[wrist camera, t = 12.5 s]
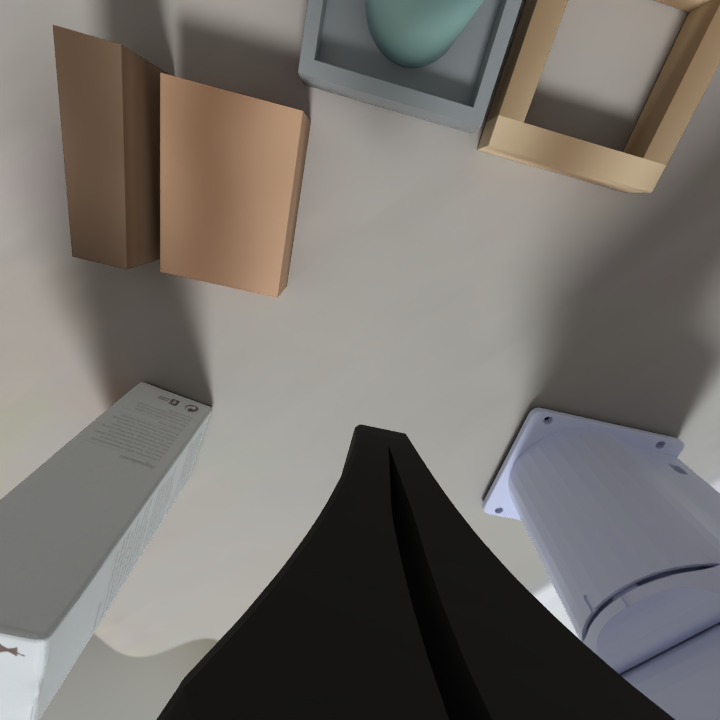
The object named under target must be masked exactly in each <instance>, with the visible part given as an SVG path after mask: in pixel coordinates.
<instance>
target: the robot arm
mask: <svg viewBox="0 0 720 720" xmlns="http://www.w3.org/2000/svg"><path fill="white" fill-rule="evenodd" d="M546 417H549V418H548V419H547V420H544V419H545V418H546ZM683 449H684V443H683V442H682V441H681V440H679V439H678V438H675V437H670V436H666V435H661V434H657V433H652V432H648V431H643V430H639V429H634V428H630V427H625V426H621V425H616V424H612V423H607V422H602V421H598V420H593V419H589V418H584V417H580V416H575V415H571V414H566V413H562V412H557V411H553V410H548V409H544V408H535V409H533V410H531V411H530V413H529V414H528V416H527V418H526V420H525V422H524V424H523V426H522V428H521V430H520V432H519V434H518V436H517V438H516V440H515V441H514V443H513V445H512V447H511V449H510V451H509V453H508V455H507V457H506V459H505V461H504V463H503V465H502V467H501V469H500V471H499V472H498V474H497V476H496V478H495V480H494V482H493V484H492V486H491V488H490V490H489V492H488V494H487V496H486V498H485V500H484V502H483V504H482V507H483V510H484V512H485V513H487V514H491V515H496V516H502V517H507V518H512V519H518V520H521V521H522V523H523V525H524V527H525V529H526V531H527V533H528V535H529V537H530V539H531V541H532V543H533V545H534V547H535V549H536V551H537V553H538V555H539V557H540V559H541V561H542V563H543V566H544V568H545V570H546V572H547V574H548V576H549V578H550V580H551V582H552V584H553V586H554V588H555V590H556V592H557V594H558V596H559V598H560V600H561V602H562V604H563V606H564V608H565V610H566V612H567V614H568V617H569V619H570V621H571V623H572V625H573V627H574V629H575V631H576V633H577V635H578V637H579V639H580V640H579V639H578V638H577V637H576V636H575V635H574V634H573V633H572V632H571V631H570V630H569V629H567V628H566V627H565V626H564V625H563V624H562V623H561V622H560V621H559V620H558V619H557V618H556V617H555V616H553V615H552V614H551V613H550V612H549V611H548V610H547V609H546V608H545V607H544V606H543V605H542V604H541V603H540V602H539V601H538V600H537V599H536V598H535V597H534V596H533V595H532V594H531V593H530V592H529V591H528V590H527V589H526V588H525V587H524V586H523V585H522V584H521V583H520V582H519V581H518V580H517V579H516V578H515V577H514V576H513V575H512V574H511V573H510V572H509V570H508V569H507V568H506V567H505V566H504V565H503V564H502V563H501V562H500V560H499V559H498V558H497V557H496V556H495V555H494V554H493V553H492V552H491V550H490V549H489V548H488V547H487V546H486V545H485V544H484V543H483V541H482V540H481V539H480V538H479V537H478V535H477V534H476V533H475V532H474V531H473V529H472V528H471V527H470V526H469V524H468V523H467V522H466V520H465V519H464V518H463V517H462V515H461V514H460V513H459V512H458V510H457V509H456V508H455V506H454V505H453V504H452V502H451V501H450V500H449V498H448V497H447V495H446V494H445V493H444V491H443V490H442V488H441V487H440V486H439V484H438V483H437V481H436V480H435V478H434V477H433V475H432V474H431V472H430V471H429V469H428V468H427V466H426V465H425V463H424V462H423V460H422V459H421V457H420V456H419V454H418V453H417V451H416V449H415V448H414V446H413V445H412V443H411V442H410V440H409V438H408V437H407V435H406V434H404V433H399V432H395V431H390V430H385V429H380V428H375V427H370V426H365V425H359V426H357V427H355V430H354V433H353V437H352V440H351V444H350V447H349V451H348V454H347V458H346V462H345V465H344V469H343V472H342V476H341V478H340V480H339V482H338V483H337V485H336V487H335V489H334V491H333V493H332V495H331V496H330V498H329V500H328V502H327V504H326V505H325V507H324V509H323V510H322V512H321V513H320V515H319V517H318V518H317V520H316V521H315V523H314V524H313V526H312V527H311V529H310V530H309V532H308V533H307V535H306V536H305V538H304V539H303V540H302V542H301V543H300V545H299V546H298V547H297V549H296V550H295V551H294V553H293V554H292V556H291V557H290V558H289V560H288V561H287V562H286V564H285V565H284V566H283V567H282V569H281V570H280V571H279V573H278V574H277V575H276V576H275V577H274V579H273V580H272V581H271V582H270V583H269V585H268V586H267V587H266V588H265V589H264V591H263V592H262V593H261V594H260V595H259V597H258V598H257V599H256V600H255V601H254V603H253V604H252V605H251V606H250V607H249V609H248V610H247V611H246V612H245V613H244V614H243V615H242V617H241V618H240V619H239V620H238V621H237V622H236V623H235V624H234V626H233V627H232V628H231V629H230V630H229V631H228V632H227V633H226V634H225V635H224V636H223V637H222V638H221V639H220V640H219V641H218V643H217V644H216V645H215V646H214V647H213V648H212V649H211V650H210V651H209V652H208V653H207V654H206V655H205V656H204V657H203V659H202V660H201V661H200V662H199V663H198V664H197V665H196V666H195V667H194V668H193V669H192V670H191V671H190V672H189V673H188V675H187V676H186V677H185V678H184V679H183V680H182V682H181V684H180V686H179V687H178V689H177V690H176V692H175V693H174V694H173V696H172V698H171V699H170V700H169V702H168V703H167V705H166V706H165V708H164V709H163V711H162V712H161V714H160V715H159V717H158V718H157V720H720V493H719V492H717V491H716V490H715V489H714V488H713V487H711V486H710V485H709V484H708V483H707V482H705V481H704V480H703V479H702V478H701V477H699V476H698V475H697V474H696V473H695V472H693V471H692V470H691V469H690V468H689V467H687V466H686V465H685V464H684V463H683V462H681V461H680V460H679V459H678V458H677V457H678V456H679V454H680V453H681V452H682V450H683ZM498 507H500V508H498ZM496 508H497V509H496Z"/></svg>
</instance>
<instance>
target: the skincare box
mask: <svg viewBox="0 0 720 720" xmlns="http://www.w3.org/2000/svg"><path fill="white" fill-rule="evenodd" d="M211 411H212V408H211V407H209V406H207V405H204V404H201V403H199V402H196V401H193V400H190V399H187V398H184V397H182V396H179V395H177V394H174V393H171V392H168V391H165V390H163V389H160V388H158V387H155V386H152V385H150V384H147V383H144V382H140V383H138V384H137V385H136V386H135V387H134V388H132V389H131V390H130V391H129V392H128V393H126V394H125V395H124V396H123V397H122V398H120V399H119V400H118V401H117V402H116V403H115V404H113V405H112V406H111V407H110V408H109V409H108V410H106V411H105V412H104V413H103V414H102V415H100V416H99V417H98V418H97V419H96V420H95V421H93V422H92V423H91V424H90V425H89V426H88V427H86V428H85V429H84V430H83V431H81V432H80V433H79V434H78V435H77V436H76V437H74V438H73V439H72V440H71V441H69V442H68V443H67V444H66V445H65V446H64V447H62V448H61V449H60V450H59V451H58V452H56V453H55V454H54V455H53V456H52V457H51V458H50V459H48V460H47V461H46V462H45V463H44V464H42V465H41V466H40V467H39V468H38V469H37V470H35V471H34V472H33V473H32V474H31V475H29V476H28V477H27V478H26V479H25V480H24V481H22V482H21V483H20V484H19V485H18V486H16V487H15V488H14V489H13V490H12V491H11V492H9V493H8V494H7V495H6V496H5V497H4V498H2V499H1V500H0V720H40V718H41V716H42V715H43V713H44V711H45V710H46V708H47V707H48V705H49V703H50V701H51V700H52V698H53V697H54V695H55V694H56V692H57V690H58V689H59V687H60V686H61V684H62V683H63V681H64V679H65V678H66V676H67V674H68V673H69V671H70V670H71V668H72V666H73V665H74V663H75V661H76V660H77V658H78V657H79V655H80V653H81V652H82V650H83V649H84V647H85V646H86V644H87V642H88V641H89V639H90V638H91V636H92V635H93V633H94V631H95V630H96V628H97V627H98V625H99V623H100V622H101V620H102V619H103V617H104V615H105V614H106V612H107V610H108V609H109V607H110V606H111V604H112V602H113V601H114V599H115V597H116V596H117V594H118V593H119V591H120V589H121V588H122V586H123V585H124V583H125V581H126V580H127V578H128V576H129V575H130V573H131V572H132V570H133V568H134V567H135V565H136V564H137V562H138V560H139V559H140V557H141V555H142V554H143V552H144V550H145V549H146V547H147V546H148V544H149V542H150V541H151V539H152V538H153V536H154V534H155V533H156V531H157V529H158V528H159V526H160V525H161V523H162V521H163V520H164V518H165V517H166V515H167V513H168V512H169V510H170V509H171V507H172V505H173V504H174V502H175V500H176V499H177V497H178V496H179V494H180V493H181V491H182V489H183V488H184V486H185V484H186V483H187V481H188V480H189V477H190V474H191V471H192V468H193V465H194V462H195V459H196V456H197V453H198V450H199V447H200V444H201V441H202V438H203V435H204V432H205V429H206V426H207V423H208V420H209V417H210V414H211Z"/></svg>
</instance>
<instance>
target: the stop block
mask: <svg viewBox="0 0 720 720" xmlns="http://www.w3.org/2000/svg"><path fill="white" fill-rule="evenodd" d="M53 34H54V45H55V57H56V69H57V80H58V92H59V104H60V116H61V127H62V139H63V151H64V162H65V174H66V186H67V198H68V209H69V221H70V233H71V244H72V256H73V257H77V258H81V259H85V260H90V261H94V262H98V263H103V264H107V265H111V266H115V267H120V268H124V269H129V268H132V267H135V266H138V265H142V264H145V263H148V262H151V261H154V260H157V259H160V73H164V74H167V73H166V72H164V71H163V70H161V69H159V68H158V67H156V66H155V65H153V64H151V63H150V62H148V61H147V60H145V59H143V58H142V57H140V56H139V55H137V54H135V53H134V52H132V51H131V50H129V49H127V48H126V47H124V46H123V45H121V44H117V43H114V42H110V41H107V40H104V39H100V38H97V37H93V36H90V35H86V34H83V33H79V32H76V31H72V30H69V29H65V28H62V27H59V26H55V25H53ZM168 75H169V74H168Z"/></svg>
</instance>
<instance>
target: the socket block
mask: <svg viewBox="0 0 720 720" xmlns="http://www.w3.org/2000/svg"><path fill="white" fill-rule="evenodd" d="M655 1H658V2H661V3H663V4H666V5H669V6H672V7H675V8H678V9H681V10H684V11H687V12H689V14H688V16H687V18H686V20H685V22H684V24H683V26H682V29H681V31H680V33H679V35H678V37H677V39H676V41H675V43H674V45H673V47H672V50H671V52H670V54H669V56H668V58H667V60H666V62H665V64H664V66H663V69H662V71H661V73H660V75H659V77H658V79H657V81H656V83H655V85H654V88H653V90H652V92H651V94H650V96H649V98H648V100H647V102H646V104H645V106H644V109H643V111H642V113H641V115H640V117H639V119H638V121H637V123H636V125H635V128H634V130H633V132H632V134H631V136H630V138H629V140H628V142H627V144H626V147H625V149H624V151H623V152H620V151H617V150H614V149H610V148H607V147H604V146H600V145H597V144H594V143H590V142H587V141H584V140H580V139H577V138H574V137H570V136H567V135H564V134H560V133H557V132H553V131H550V130H547V129H543V128H540V127H537V126H533V125H530V124H527V123H524V120H525V118H526V115H527V112H528V109H529V107H530V104H531V101H532V98H533V96H534V93H535V90H536V87H537V85H538V82H539V79H540V76H541V74H542V71H543V68H544V65H545V63H546V60H547V57H548V54H549V52H550V49H551V46H552V43H553V41H554V38H555V35H556V33H557V30H558V27H559V24H560V22H561V19H562V16H563V13H564V11H565V8H566V5H567V2H568V0H526V3H525V6H524V9H523V12H522V15H521V18H520V21H519V24H518V27H517V30H516V33H515V36H514V39H513V42H512V45H511V48H510V51H509V54H508V57H507V61H506V64H505V67H504V70H503V73H502V76H501V79H500V82H499V85H498V88H497V91H496V94H495V97H494V100H493V103H492V106H491V109H490V112H489V115H488V118H487V121H486V125H485V128H484V131H483V134H482V137H481V140H480V143H479V146H478V149H477V150H480V151H484V152H487V153H491V154H494V155H497V156H501V157H504V158H508V159H511V160H515V161H518V162H522V163H525V164H529V165H532V166H536V167H539V168H543V169H546V170H550V171H553V172H556V173H560V174H563V175H567V176H570V177H574V178H577V179H581V180H584V181H588V182H591V183H595V184H598V185H602V186H605V187H609V188H612V189H616V190H619V191H622V192H626V193H652V191H653V189H654V188H655V186H656V184H657V182H658V180H659V178H660V176H661V174H662V172H663V170H664V168H665V167H666V165H667V163H668V161H669V159H670V157H671V155H672V153H673V151H674V149H675V147H676V146H677V144H678V142H679V140H680V138H681V136H682V134H683V132H684V130H685V128H686V127H687V125H688V123H689V121H690V119H691V117H692V115H693V113H694V111H695V109H696V107H697V106H698V104H699V102H700V100H701V98H702V96H703V94H704V92H705V90H706V88H707V87H708V85H709V83H710V81H711V79H712V77H713V75H714V73H715V71H716V69H717V67H718V66H719V64H720V0H655Z"/></svg>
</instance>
